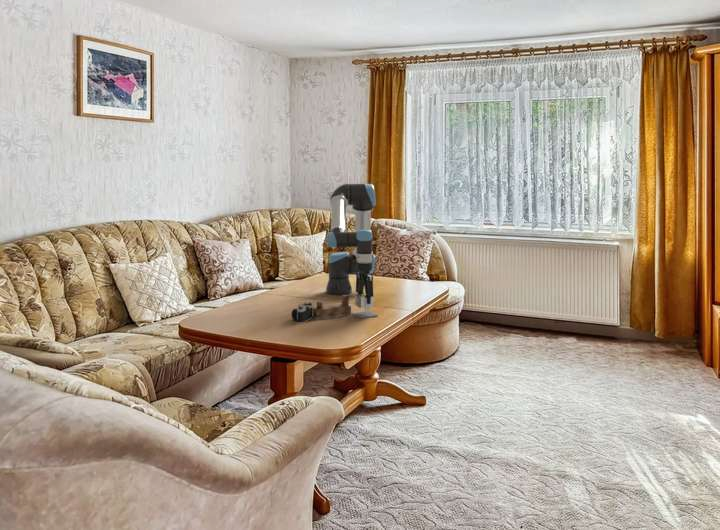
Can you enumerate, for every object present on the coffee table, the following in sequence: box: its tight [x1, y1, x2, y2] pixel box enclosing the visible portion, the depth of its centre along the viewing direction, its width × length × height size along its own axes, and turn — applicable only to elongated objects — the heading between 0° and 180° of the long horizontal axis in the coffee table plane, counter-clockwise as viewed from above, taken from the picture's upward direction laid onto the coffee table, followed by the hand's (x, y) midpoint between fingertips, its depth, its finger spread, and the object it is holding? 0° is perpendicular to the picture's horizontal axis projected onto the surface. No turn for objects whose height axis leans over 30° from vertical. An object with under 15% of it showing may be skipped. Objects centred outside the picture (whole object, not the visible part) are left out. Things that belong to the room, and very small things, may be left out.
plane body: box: [312, 294, 353, 320], centre depth 278 cm, size 19×5×10 cm, turn 117°
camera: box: [291, 302, 314, 324], centre depth 272 cm, size 13×8×9 cm, turn 163°
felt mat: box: [351, 310, 378, 320], centre depth 280 cm, size 10×9×1 cm
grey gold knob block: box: [354, 293, 375, 309], centre depth 279 cm, size 6×7×6 cm
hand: (364, 308), depth 280 cm, fingers closed on grey gold knob block, 6 cm apart
